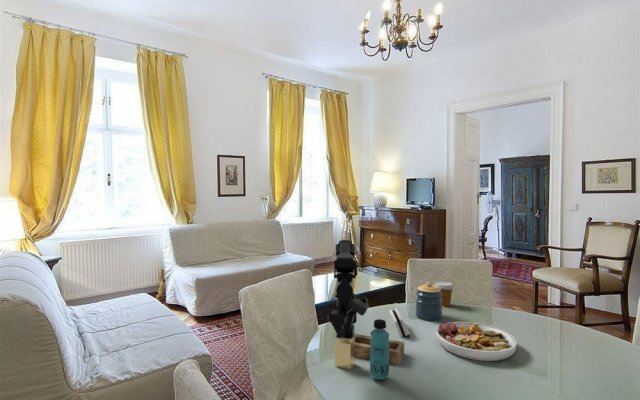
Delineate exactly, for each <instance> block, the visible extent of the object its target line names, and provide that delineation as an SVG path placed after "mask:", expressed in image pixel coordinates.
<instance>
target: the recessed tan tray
mask: <svg viewBox="0 0 640 400" xmlns="http://www.w3.org/2000/svg"><path fill="white" fill-rule="evenodd" d="M351 339H353V340H355V357H357V358H362V359H368V360H370V346H371V335H365V334H358V333H355V334H354V335H353V336H352V338H351ZM404 354H405V342H404V341H400V340H393V339H389V364H392V365H400V363H401V361H402V358H403V357H404Z"/></svg>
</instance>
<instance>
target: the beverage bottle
mask: <svg viewBox="0 0 640 400" xmlns="http://www.w3.org/2000/svg"><path fill="white" fill-rule="evenodd" d="M373 322H374V323H373V328H375V329H373V330H372V331H370V336H371V346H370V359H369V374H370V376H371V377H372V378H374V379H378V380H383V379H386V378H388V377H389V372H390V363H389V340H390V333H389V332H388V331H387V330H386V328H387V321H386V320H385V319H381V318H380V319H375V320H374V321H373Z"/></svg>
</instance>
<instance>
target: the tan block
mask: <svg viewBox="0 0 640 400" xmlns="http://www.w3.org/2000/svg"><path fill="white" fill-rule="evenodd" d="M355 357H356V356H355V340H353V339H347V338H341V339H340V338H339V337H337V339H336V340H335V341H334V366H335V367H337V368H342V369H347V370H351V369H352V368H353V367H354V366H355V364H356V363H355V360H356V359H355Z"/></svg>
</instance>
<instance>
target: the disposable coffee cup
mask: <svg viewBox="0 0 640 400" xmlns="http://www.w3.org/2000/svg"><path fill="white" fill-rule="evenodd" d="M434 285H436V286H437V287H438V288H440V289H441V291H440V292H441V293H442V294H443V296H442V297H441V298H442V301H443V302H442V306H443V307H442V308H447V307H448V306H449V307H450V306H451V301H452V293H453V288H454V285H453V283H452V282H450V281H436V282H435V284H434Z"/></svg>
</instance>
